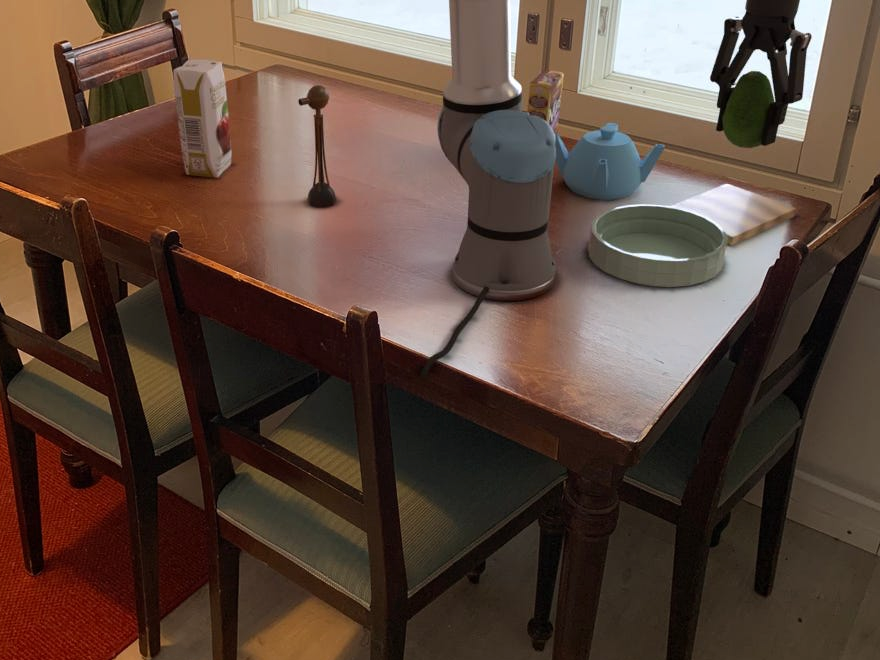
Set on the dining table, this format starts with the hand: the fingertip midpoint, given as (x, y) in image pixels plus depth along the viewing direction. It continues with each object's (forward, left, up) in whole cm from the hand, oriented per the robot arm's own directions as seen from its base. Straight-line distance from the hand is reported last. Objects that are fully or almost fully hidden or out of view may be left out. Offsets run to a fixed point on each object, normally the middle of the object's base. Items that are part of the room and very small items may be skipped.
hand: (745, 136), depth 161 cm
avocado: (0, 0, -2) cm, 2 cm away
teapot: (-7, +22, -14) cm, 27 cm away
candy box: (-5, +39, -14) cm, 42 cm away
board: (0, 0, -14) cm, 14 cm away
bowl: (-22, -2, -14) cm, 26 cm away
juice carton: (-57, +73, -14) cm, 94 cm away
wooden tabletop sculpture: (-50, +48, -14) cm, 71 cm away
